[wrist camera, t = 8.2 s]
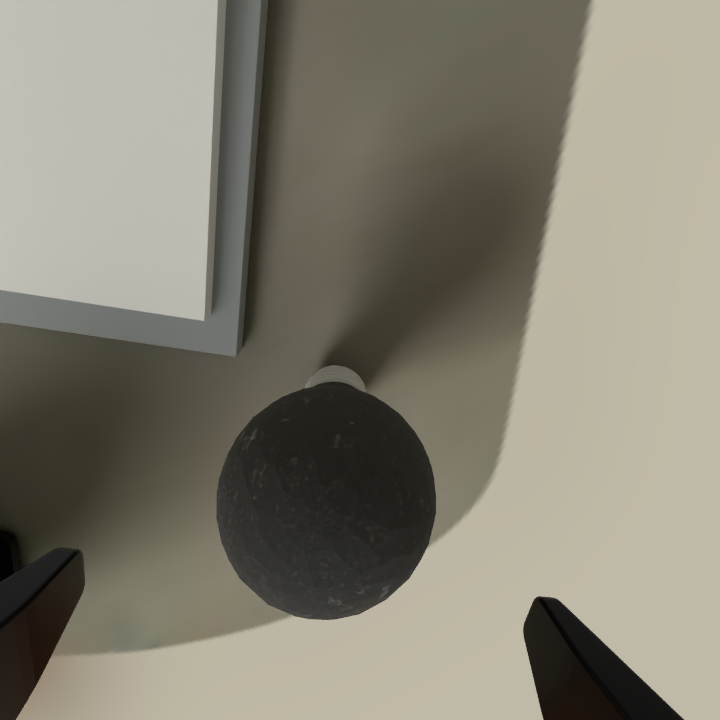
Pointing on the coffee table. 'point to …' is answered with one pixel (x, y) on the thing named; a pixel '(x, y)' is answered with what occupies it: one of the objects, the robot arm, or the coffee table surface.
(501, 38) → the coffee table surface
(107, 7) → the scale
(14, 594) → the robot arm
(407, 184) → the coffee table surface
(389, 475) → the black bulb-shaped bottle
